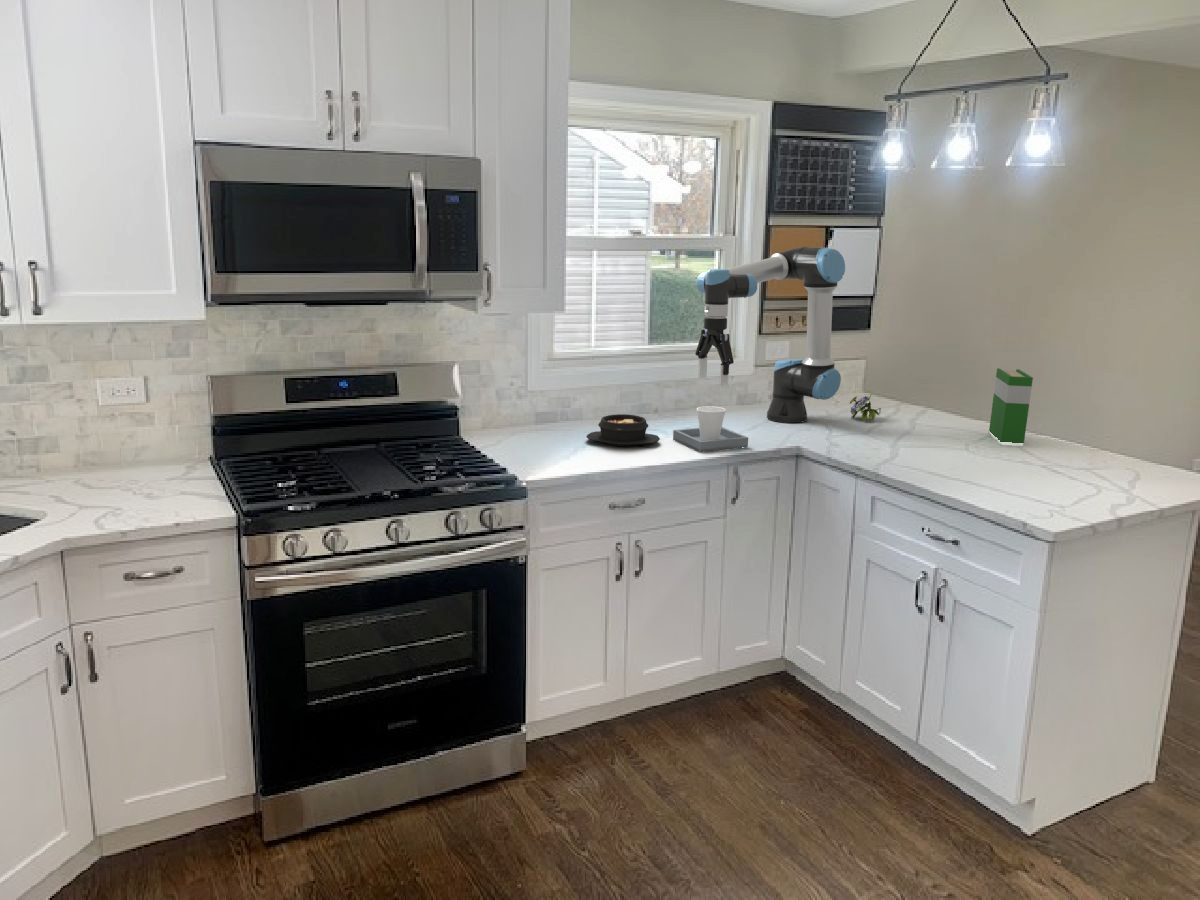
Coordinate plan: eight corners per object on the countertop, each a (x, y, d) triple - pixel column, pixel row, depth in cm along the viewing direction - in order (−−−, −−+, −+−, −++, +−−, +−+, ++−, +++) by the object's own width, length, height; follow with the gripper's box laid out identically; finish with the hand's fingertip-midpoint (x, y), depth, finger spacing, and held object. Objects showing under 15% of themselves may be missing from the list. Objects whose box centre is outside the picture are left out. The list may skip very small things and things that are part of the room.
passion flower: (852, 432, 348) (845, 404, 353) (880, 427, 347) (873, 399, 352) (855, 421, 338) (848, 392, 342) (884, 417, 337) (877, 388, 341)
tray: (718, 435, 317) (719, 425, 316) (747, 447, 300) (748, 437, 299) (673, 439, 309) (673, 430, 308) (700, 452, 293) (700, 442, 292)
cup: (723, 437, 309) (725, 406, 306) (725, 444, 299) (726, 412, 297) (694, 436, 310) (696, 405, 307) (695, 443, 300) (696, 411, 297)
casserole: (581, 447, 298) (581, 422, 296) (592, 434, 316) (592, 411, 314) (655, 451, 293) (656, 426, 291) (662, 438, 311) (663, 415, 309)
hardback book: (988, 433, 325) (997, 368, 319) (1010, 435, 324) (1019, 369, 318) (1000, 445, 308) (1009, 376, 302) (1023, 446, 307) (1032, 377, 301)
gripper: (686, 313, 303) (684, 375, 309) (726, 321, 281) (723, 388, 287) (706, 312, 306) (703, 374, 312) (746, 320, 284) (743, 386, 290)
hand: (712, 381), depth 299 cm, fingers open, 13 cm apart
